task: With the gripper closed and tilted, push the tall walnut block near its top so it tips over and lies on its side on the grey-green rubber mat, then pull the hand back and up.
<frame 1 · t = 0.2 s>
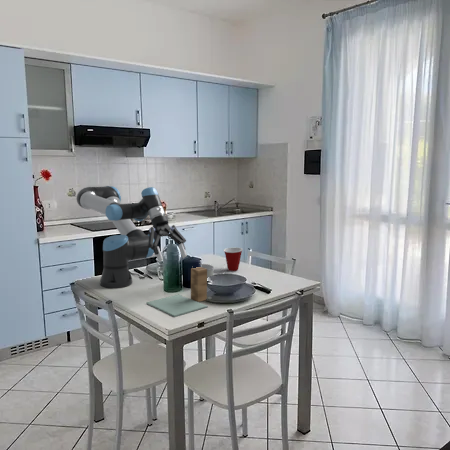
hand: (173, 258, 192), 16 cm above the table, tool tilted 35°, fingers open, 13 cm apart
walnut block: (198, 299, 186), on the table
plastic cup: (232, 270, 237), on the table
rubber mat: (176, 305, 177), on the table
teacup: (200, 282, 212), on the table
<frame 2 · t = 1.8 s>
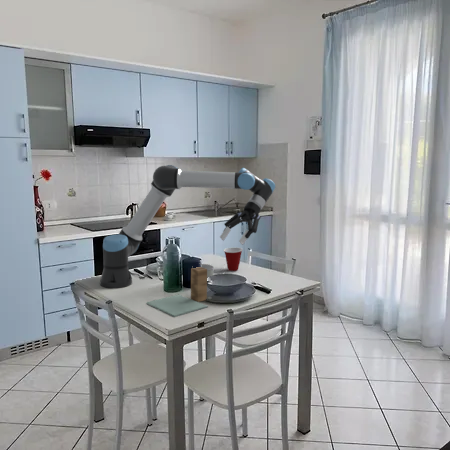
hand: (231, 240, 195), 24 cm above the table, tool tilted 45°, fingers open, 12 cm apart
nothing on the table moved.
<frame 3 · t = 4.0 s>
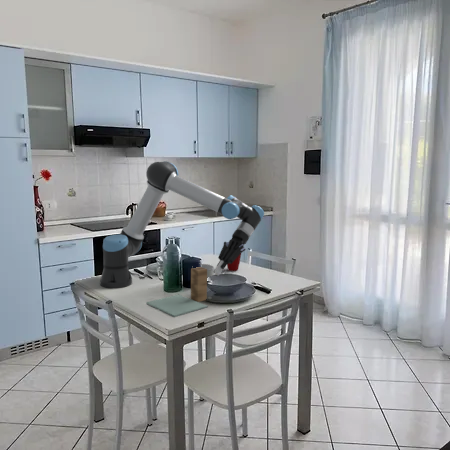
hand: (216, 273, 191), 10 cm above the table, tool tilted 45°, fingers closed
nothing on the table moved.
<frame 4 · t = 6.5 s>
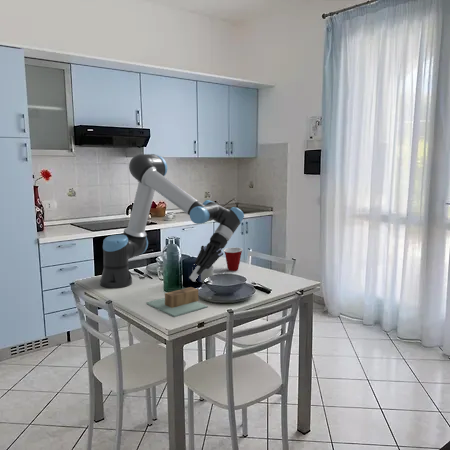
hand: (192, 279, 181), 10 cm above the table, tool tilted 45°, fingers closed
walnut block: (194, 293, 184), point 3 cm above the table, tilted 90°, touching rubber mat
everything else where it was.
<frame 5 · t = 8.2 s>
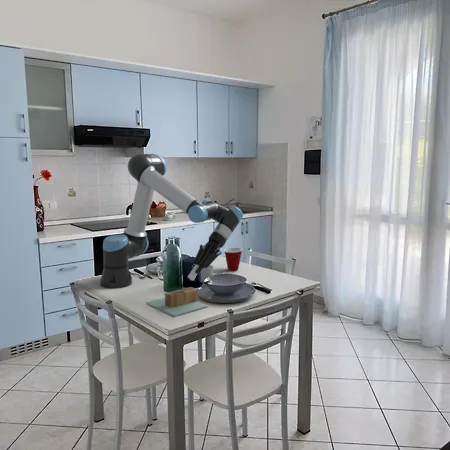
hand: (190, 278, 180), 10 cm above the table, tool tilted 45°, fingers closed
nothing on the table moved.
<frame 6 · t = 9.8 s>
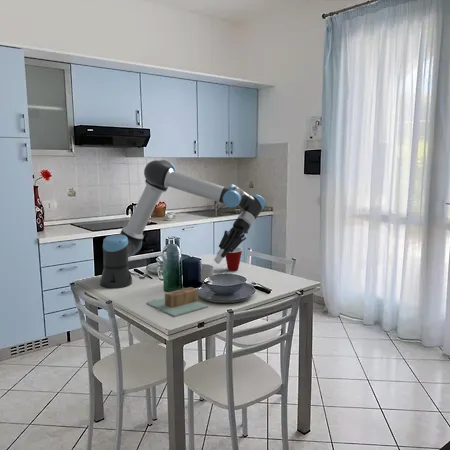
hand: (216, 261, 190), 15 cm above the table, tool tilted 45°, fingers closed
nothing on the table moved.
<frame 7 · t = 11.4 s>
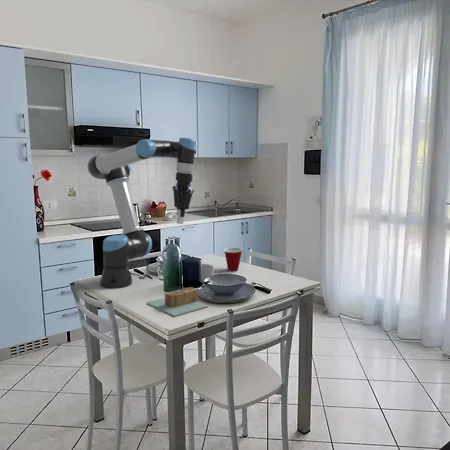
hand: (179, 223, 195), 32 cm above the table, tool pointing down, fingers closed
nothing on the table moved.
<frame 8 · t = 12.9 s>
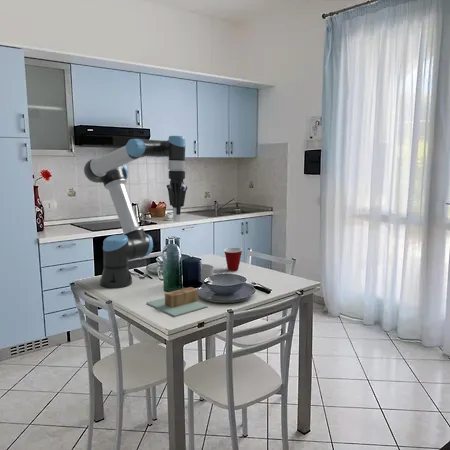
hand: (176, 221, 196), 32 cm above the table, tool pointing down, fingers closed
nothing on the table moved.
at the end: walnut block tilted 90°; walnut block touching rubber mat; walnut block inside the target area (5.7 cm from its centre), point 3.1 cm above the table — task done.
